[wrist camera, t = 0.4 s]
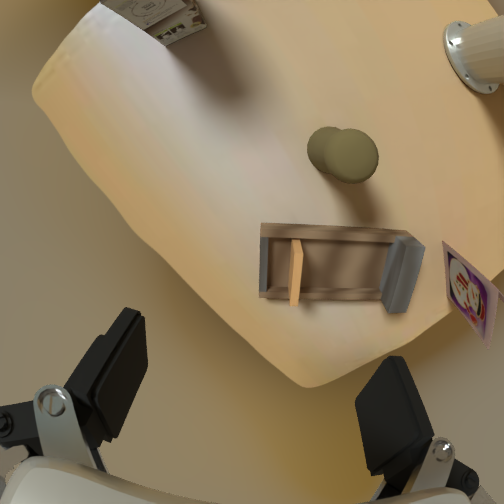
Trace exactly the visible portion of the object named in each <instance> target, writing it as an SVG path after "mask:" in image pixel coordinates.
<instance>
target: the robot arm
mask: <svg viewBox="0 0 504 504" xmlns="http://www.w3.org/2000/svg"><path fill="white" fill-rule="evenodd" d="M443 39H444V46H445V50H446V53H447V56H448V58H449V60H450V62H451V65H452V66H453V68H454V70H455V71H456V73H457V74H458V75H459V77H460V78H461V79H462V80H463V81H464V83H465V84H466V85H468V86H469V87H470V88H471V89H473V90H474V91H476V92H479V93H481V94H490V93H493V92H495V91H496V90H497V88H498V86H499V83H504V15H501V16H498V17H495V18H492V19H489V20H486V21H483V22H480V23H477V24H474V25H470V24H468V23H466V22H462V21H455V22H452V23H450V24H448V25H447V27H446V28H445V31H444V37H443ZM147 367H148V358H147V346H146V331H145V318H144V316H141V313H140V311H137V310H134V309H131V308H127V307H125V308H124V309H123V311H122V312H121V313H120V314H119V316H118V317H117V319H116V320H115V321H114V323H113V324H112V326H111V327H110V328H109V330H108V331H107V333H106V334H105V335H99V336H98V337H97V338H96V339H95V341H94V342H93V343H92V345H91V346H90V348H89V349H88V351H87V352H86V354H85V355H84V357H83V358H82V359H81V361H80V363H79V364H78V365H77V367H76V369H75V370H74V372H73V373H72V375H71V376H70V378H69V379H68V381H67V382H66V384H65V385H64V387H63V388H62V387H61V386H58V385H46V386H43V387H42V388H40V389H39V390H38V391H37V392H36V394H35V397H34V400H33V401H28V402H23V403H18V404H12V405H6V406H0V504H218V503H212V502H206V501H201V500H196V499H191V498H186V497H182V496H178V495H174V494H170V493H166V492H162V491H159V490H155V489H151V488H148V487H145V486H142V485H139V484H136V483H133V482H130V481H127V480H124V479H121V478H119V477H116V476H113V475H110V474H109V472H108V469H107V467H106V465H105V462H104V460H103V458H102V456H101V453H100V450H99V448H98V447H100V445H101V443H102V441H103V440H105V441H107V442H110V443H111V441H112V438H117V437H118V435H119V433H120V431H121V428H122V426H123V424H124V421H125V419H126V416H127V414H128V412H129V409H130V407H131V405H132V402H133V400H134V398H135V396H136V393H137V391H138V389H139V387H140V384H141V382H142V380H143V378H144V375H145V373H146V371H147ZM355 407H356V412H357V417H358V421H359V426H360V431H361V436H362V442H363V447H364V452H365V458H366V464H367V468H368V470H370V472H371V476H375V475H382V474H384V479H383V481H382V483H381V484H380V486H379V488H378V489H377V491H376V492H375V494H374V496H373V497H372V498H371V500H370V501H369V502H364V503H358V504H496V503H495V501H494V500H493V499H492V498H491V497H490V495H488V493H487V492H486V491H485V490H484V488H483V487H482V486H481V485H480V486H479V478H478V475H477V473H476V472H475V471H474V470H473V469H471V468H469V467H468V466H466V465H464V464H463V463H461V462H460V461H458V460H456V459H455V449H454V446H453V445H452V443H451V442H450V441H449V440H448V439H446V438H443V437H438V438H435V439H434V440H432V437H433V436H434V432H433V429H432V426H431V423H430V421H429V418H428V415H427V413H426V410H425V407H424V405H423V402H422V400H421V397H420V395H419V393H418V390H417V388H416V385H415V383H414V380H413V378H412V376H411V374H410V371H409V369H408V367H407V364H406V362H405V360H404V359H403V357H401V356H389V357H387V359H385V360H383V362H382V363H381V365H380V366H379V367H378V369H377V370H376V372H375V373H374V375H373V376H372V377H371V379H370V380H369V382H368V383H367V384H366V386H365V387H364V388H363V390H362V391H361V392H360V394H359V395H358V396H357V398H356V400H355ZM19 462H22V463H21V464H20V465H19V466H18V467H17V469H16V470H15V471H14V473H13V475H12V476H11V478H10V480H9V482H8V484H7V485H6V482H5V477H6V474H7V473H8V472H9V471H10V470H12V469H14V465H16V464H18V463H19ZM478 486H479V487H478Z"/></svg>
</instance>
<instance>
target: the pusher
mask: <svg viewBox="0 0 504 504" xmlns="http://www.w3.org/2000/svg"><path fill="white" fill-rule="evenodd" d="M302 263H303V250H302V246H301V242H300V238H292V240H291V254H290V268H289V280H288V290H289V302H290V306H298V300H299V291H300V282H301V273H302Z"/></svg>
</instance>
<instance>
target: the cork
mask: <svg viewBox="0 0 504 504" xmlns="http://www.w3.org/2000/svg"><path fill="white" fill-rule="evenodd" d="M307 153H308V156H309V159H310V161H311V162H312V164H313V165H314V166H315V167H316V168H317V169H318V170H320V171H323V172H325V173H331V174H332V175H334V176H335V177H336V178H337V179H338V180H341V181H343V182H345V183H352V184H355V183H360V182H364V181H365V180H367V179H369V178H370V177H371V176H372V175H373V173H374V172H375V170H376V168H377V166H378V159H379V155H378V150H377V147H376V145H375V143H374V141H373V140H372V139H371V138H370V137H369V136H368V135H367V134H366V133H364V132H362V131H360V130H356V129H344V130H340V129H338V128H336V127H324V128H320V129H319V130H317V131H315V132H314V133H313V135H312V136H311V137H310V139H309V142H308V145H307Z"/></svg>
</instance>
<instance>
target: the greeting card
mask: <svg viewBox="0 0 504 504" xmlns="http://www.w3.org/2000/svg"><path fill="white" fill-rule="evenodd" d="M442 244H443V252H444V262H445V274H446V291H447V296H448V298H449V299H450V300H451V301H452V302H453V304H454V305H455V306H456V307H457V309H458V310H459V311H460V312H461V314H462V315H463V316H464V317H465V319H466V320H467V321H468V323H469V324H470V325H471V327H472V328H473V329H474V331H475V332H476V333H477V335H478V336H479V337H480V339H481V340H482V341H483V343H484V344H485V346H486V347H487V349H489V346H490V342H491V338H492V332H493V327H494V321H495V316H496V309H497V301H498V297H499V298H500V299H501V300H502V301H503V302H504V296H503V295H502V294H501V292H500V291H499V290H498V289H497V288H496V287H495V286H494V285H493V284H492V283H491V282H490V281H489V280H488V279H487V278H486V277H485V276H484V275H482V274H481V273H480V272H479V271H478V270H477V269H476V268H475V267H474V266H472V265H471V264H470V263H469V262H468V261H467V260H465V259H464V258H463V257H462V256H461V255H460V254H458V253H457V252H456V251H455V250H454V249H452V248H451V247H450V246H449V245H447V244H446V243H445V242H444V241H442Z"/></svg>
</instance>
